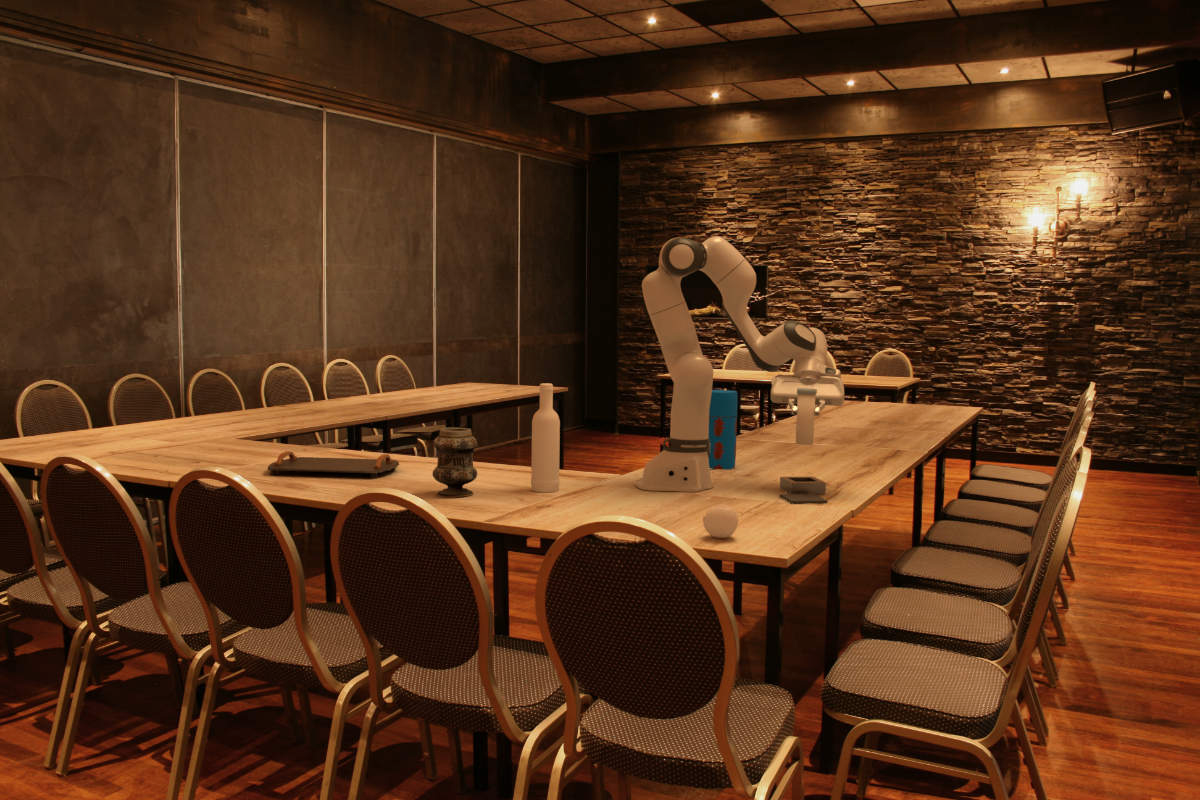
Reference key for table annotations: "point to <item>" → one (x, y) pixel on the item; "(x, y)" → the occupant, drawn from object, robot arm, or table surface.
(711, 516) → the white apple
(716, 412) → the red-spotted teal box
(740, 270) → the robot arm
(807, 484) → the collar
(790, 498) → the mat
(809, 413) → the cylinder
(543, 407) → the bottle
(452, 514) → the table surface
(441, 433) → the apothecary jar
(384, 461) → the serving board
